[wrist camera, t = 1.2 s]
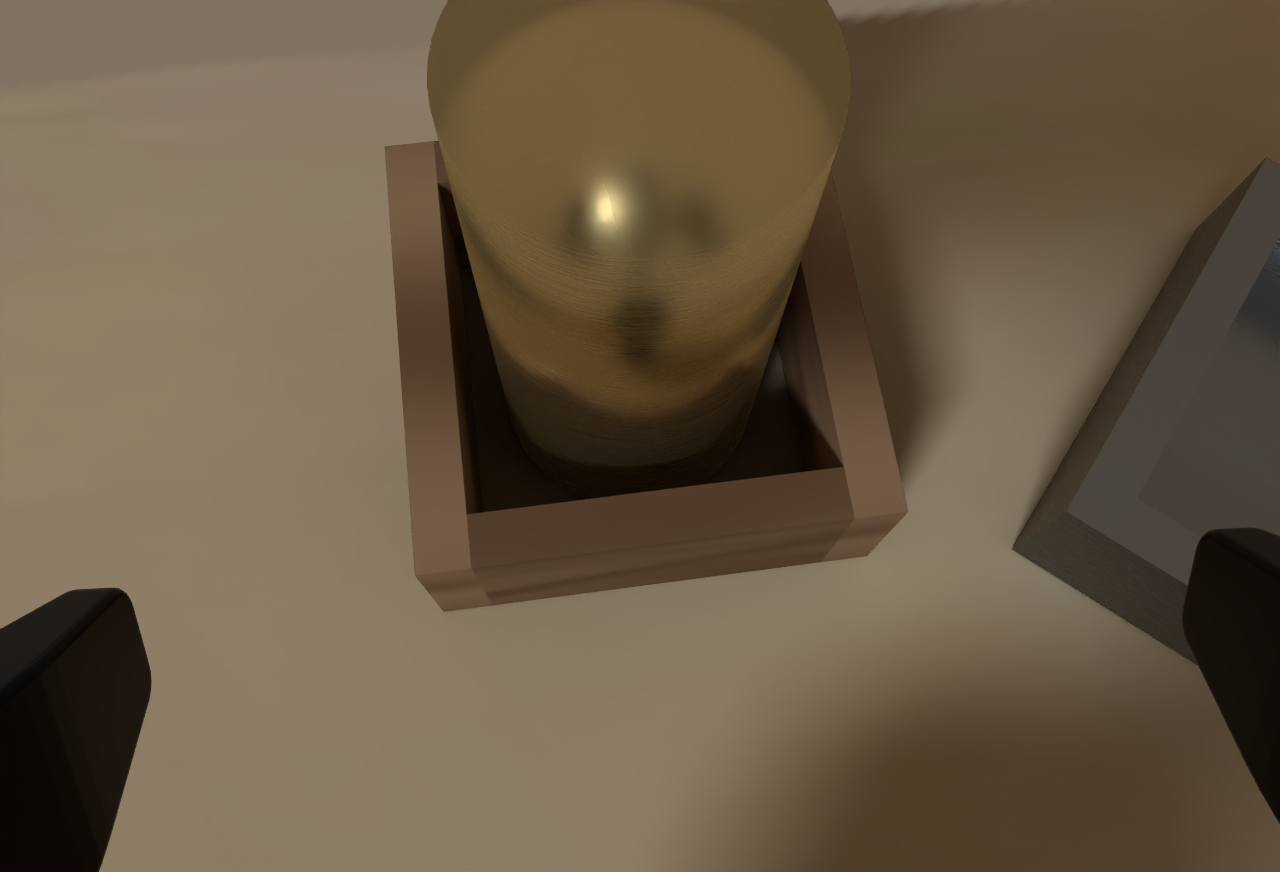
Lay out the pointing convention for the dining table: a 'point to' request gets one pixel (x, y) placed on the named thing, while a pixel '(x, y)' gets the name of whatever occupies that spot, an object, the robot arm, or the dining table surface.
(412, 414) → the walnut socket
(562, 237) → the tan cylinder
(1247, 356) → the tray
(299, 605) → the dining table surface
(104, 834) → the robot arm
